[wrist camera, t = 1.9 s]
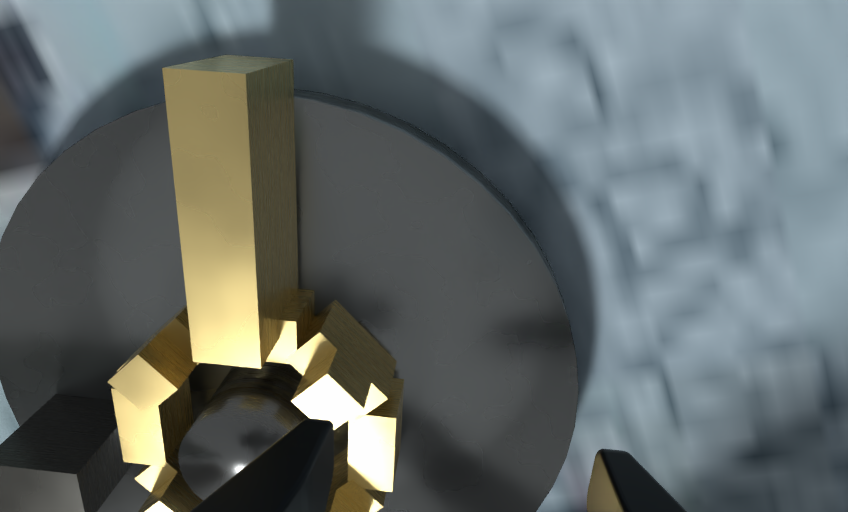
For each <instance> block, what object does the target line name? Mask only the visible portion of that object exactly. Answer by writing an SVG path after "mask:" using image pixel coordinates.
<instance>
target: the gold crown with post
mask: <svg viewBox="0 0 848 512" xmlns="http://www.w3.org/2000/svg"><path fill="white" fill-rule="evenodd" d="M162 71H163V80H164V90H165V99H166V109H167V119H168V128H169V138H170V147H171V157H172V166H173V176H174V185H175V195H176V205H177V214H178V224H179V233H180V243H181V252H182V262H183V272H184V281H185V291H186V300H187V304H186V305H185V306H184V307H183V308H182V309H181V310H179V311H178V312H177V313H176V314H175V315H174V316H173V317H172V318H171V319H169V320H168V321H167V322H166V323H165V324H164V325H163V326H162V327H161V328H159V329H158V330H157V331H156V332H155V333H154V334H153V335H152V336H151V337H150V338H149V339H148V340H147V341H146V342H145V343H144V344H143V345H142V346H141V347H140V348H139V349H138V350H137V351H136V352H135V353H134V354H133V355H132V356H131V357H130V358H129V359H128V360H127V361H126V362H125V363H124V364H123V365H122V366H121V367H120V368H119V369H118V370H117V373H116V374H115V375H114V376H113V377H112V378H111V379H110V380H109V381H108V383H109V384H110V385H111V386H113V387H112V388H111V391H112V397H113V402H114V408H115V414H116V420H117V426H118V432H119V438H120V444H121V449H122V455H123V461H124V462H129V463H138V464H145V465H144V466H143V468H142V469H141V470H140V472H139V473H138V474H137V476H136V477H135V480H136V481H138V482H139V483H140V484H141V485H143V486H144V487H145V488H146V489H148V490H149V491H150V492H151V493H150V495H149V496H148V498H147V499H146V501H145V502H144V504H143V505H142V507H141V508H140V510H139V511H138V512H190V511H191V510H192V509H193V508H195V507H196V506H197V505H198V504H200V503H201V502H202V501H203V500H202V499H201V498H199V497H198V496H197V495H196V494H195V493H194V492H193V491H192V490H191V488H190V487H189V486H188V484H187V483H186V482H185V480H184V478H183V476H182V473H181V471H180V467H179V462H178V453H179V448H180V445H181V442H182V440H183V438H184V437H185V435H186V434H187V432H188V431H189V430H190V428H191V427H192V425H193V424H194V421H193V412H192V403H191V393H190V384H189V374H190V373H191V372H192V371H193V369H194V368H195V367H196V366H197V364H199V363H210V364H220V365H230V366H240V367H250V368H259V369H261V368H262V366H263V365H264V363H265V362H274V363H284V364H291V365H292V366H293V367H294V368H295V369H296V370H297V371H298V372H300V373H301V374H302V375H303V377H302V379H301V381H300V383H299V385H298V387H297V390H296V392H295V394H294V396H293V398H292V400H291V402H292V403H293V404H295V405H296V406H297V407H298V408H299V409H300V410H301V411H302V412H303V413H304V414H305V415H306V416H308V417H309V418H313V419H322V420H330V421H331V422H332V423H333V426H334V430H335V429H336V428H338V427H339V426H340V425H342V424H343V423H345V422H346V421H347V420H349V431H348V448H346V449H345V450H344V451H342V452H341V453H339V454H338V455H336V456H335V457H334V470H333V478H332V483H331V487H330V492H329V496H328V500H327V505H326V509H325V512H376V511H378V510H379V509H381V508H383V505H384V500H385V495H386V491H387V492H392V491H393V486H394V480H395V475H396V469H397V464H398V458H399V453H400V444H401V427H402V409H403V392H404V379H398V378H393V376H394V371H395V367H396V363H397V361H396V360H395V359H394V358H393V357H392V356H391V355H390V354H389V353H388V352H387V351H386V350H385V349H384V348H383V347H382V346H381V345H380V344H379V343H378V342H377V341H376V340H375V339H374V338H373V337H372V336H371V335H370V334H369V333H368V332H367V331H366V330H365V329H364V328H363V327H362V326H361V325H360V324H359V323H358V322H357V321H356V320H355V319H354V318H353V317H352V316H351V315H350V314H349V313H348V312H347V311H346V310H345V309H344V308H343V307H342V306H341V305H340V304H339V303H338V302H337V301H336V300H335V301H333V302H332V303H331V304H330V305H328V306H327V307H326V308H325V309H323V310H322V311H321V312H320V313H318V314H317V315H316V316H315V290H310V289H299V288H298V246H297V203H296V159H295V116H294V72H293V59H279V58H265V57H251V56H237V55H222V56H218V57H213V58H208V59H203V60H198V61H193V62H188V63H183V64H178V65H173V66H169V67H164V68H162Z"/></svg>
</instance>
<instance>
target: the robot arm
mask: <svg viewBox="0 0 848 512" xmlns="http://www.w3.org/2000/svg"><path fill="white" fill-rule="evenodd" d="M333 470H334V426H333V423H332V422H331V421H330V420H322V419H313V418H307V419H304V420H303V421H301V422H300V423H299V424H298V425H296V426H295V427H294V428H293V429H291V430H290V431H289V432H288V433H286V434H285V435H284V436H283V437H281V438H280V439H279V440H278V441H277V442H275V443H274V444H273V445H272V446H270V447H269V448H268V449H267V450H265V451H264V452H263V453H262V454H260V455H259V456H258V457H257V458H255V459H254V460H253V461H252V462H250V463H249V464H248V465H247V466H245V467H244V468H243V469H242V470H241V471H239V472H238V473H237V474H236V475H234V476H233V477H232V478H231V479H229V480H228V481H227V482H226V483H224V484H223V485H222V486H221V487H219V488H218V489H217V490H216V491H214V492H213V493H212V494H211V495H210V496H208V497H207V498H206V499H205V500H203V501H202V502H201V503H200V504H198V505H197V506H196V507H195V508H193V509H192V510H191V511H190V512H325V509H326V505H327V500H328V496H329V492H330V487H331V483H332V478H333ZM587 512H687V511H686V510H685V509H684V508H683V507H682V506H681V505H680V504H679V503H678V502H677V501H676V500H675V499H674V498H673V497H672V496H671V495H670V494H669V493H668V492H667V491H666V490H665V489H664V488H663V487H662V486H661V485H660V484H659V483H658V482H657V481H656V480H655V479H654V478H653V477H652V476H651V475H650V474H649V473H648V472H647V471H646V470H645V469H644V468H643V467H642V466H641V465H640V464H639V463H638V462H637V461H636V460H635V459H634V458H633V457H632V455H630V454H629V453H628V452H625V451H619V450H610V449H601V450H599V451H598V452H597V454H596V456H595V461H594V465H593V470H592V475H591V479H590V484H589V488H588V494H587Z"/></svg>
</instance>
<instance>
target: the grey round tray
mask: <svg viewBox="0 0 848 512" xmlns="http://www.w3.org/2000/svg"><path fill="white" fill-rule="evenodd" d="M294 116H295V159H296V203H297V246H298V288H299V289H310V290H315V316H316V315H317V314H318V313H320V312H321V311H322V310H323V309H325V308H326V307H327V306H328V305H330V304H331V303H332V302H333V301H335V300H336V301H337V302H338V303H339V304H340V305H341V306H342V307H343V308H344V309H345V310H346V311H347V312H348V313H349V314H350V315H351V316H352V317H353V318H354V319H355V320H356V321H357V322H358V323H359V324H360V325H361V326H362V327H363V328H364V329H365V330H366V331H367V332H368V333H369V334H370V335H371V336H372V337H373V338H374V339H375V340H376V341H377V342H378V343H379V344H380V345H381V346H382V347H383V348H384V349H385V350H386V351H387V352H388V353H389V354H390V355H391V356H392V357H393V358H394V359H395V360H396V361H397V363H396V367H395V371H394V376H393V378H398V379H404V392H403V409H402V427H401V444H400V453H399V458H398V464H397V469H396V475H395V480H394V486H393V491H392V492H387V491H386V495H385V500H384V505H383V508H381V509H379V510H378V511H376V512H536V511H537V509H538V508H539V506H540V505H541V503H542V502H543V500H544V499H545V497H546V496H547V494H548V493H549V491H550V490H551V488H552V487H553V485H554V483H555V481H556V479H557V476H558V474H559V472H560V470H561V468H562V465H563V463H564V461H565V459H566V456H567V453H568V449H569V445H570V442H571V438H572V435H573V431H574V428H575V420H576V411H577V402H578V374H577V358H576V353H575V348H574V343H573V338H572V334H571V329H570V324H569V320H568V316H567V313H566V309H565V306H564V302H563V299H562V296H561V294H560V291H559V288H558V286H557V283H556V280H555V277H554V275H553V272H552V269H551V267H550V265H549V263H548V261H547V259H546V258H545V256H544V254H543V252H542V250H541V248H540V247H539V245H538V243H537V241H536V239H535V237H534V236H533V234H532V232H531V231H530V230H529V228H528V227H527V226H526V224H525V223H524V221H523V220H522V219H521V217H520V216H519V215H518V213H517V212H516V211H515V209H514V208H513V207H512V205H511V204H510V203H509V201H508V200H507V199H506V198H505V197H504V196H503V195H502V194H501V193H500V192H499V191H498V190H497V189H496V188H495V187H494V186H493V185H492V184H491V183H490V182H489V181H488V180H487V179H486V178H485V177H484V176H483V175H482V174H481V173H480V172H479V171H478V170H477V169H475V168H474V167H473V166H472V165H470V164H469V163H468V162H467V161H465V160H464V159H463V158H461V157H460V156H459V155H458V154H456V153H455V152H454V151H452V150H451V149H450V148H449V147H447V146H446V145H444V144H443V143H441V142H439V141H438V140H436V139H434V138H433V137H431V136H429V135H428V134H426V133H424V132H422V131H421V130H419V129H417V128H416V127H414V126H412V125H411V124H409V123H407V122H405V121H402V120H400V119H398V118H395V117H393V116H391V115H388V114H386V113H384V112H381V111H379V110H377V109H374V108H372V107H370V106H367V105H364V104H360V103H357V102H353V101H350V100H346V99H342V98H339V97H335V96H332V95H328V94H325V93H318V92H311V91H304V90H297V89H294ZM186 304H187V300H186V291H185V281H184V272H183V262H182V252H181V243H180V233H179V224H178V214H177V205H176V195H175V185H174V176H173V166H172V157H171V147H170V138H169V128H168V119H167V109H166V102H164V103H160V104H157V105H154V106H151V107H147V108H144V109H141V110H138V111H135V112H132V113H130V114H128V115H126V116H124V117H121V118H119V119H117V120H115V121H113V122H111V123H109V124H107V125H104V126H102V127H100V128H98V129H96V130H95V131H93V132H92V133H90V134H89V135H87V136H86V137H84V138H83V139H82V140H80V141H79V142H77V143H76V144H74V145H73V146H71V147H70V148H68V149H67V150H65V151H64V152H63V153H62V154H61V155H60V156H59V157H58V158H57V159H56V160H55V161H54V162H53V163H52V164H51V165H50V166H49V167H48V168H47V169H46V170H45V171H44V172H43V173H42V174H40V175H39V176H38V178H37V179H36V180H35V182H34V183H33V185H32V186H31V187H30V189H29V190H28V191H27V193H26V194H25V196H24V197H23V198H22V200H21V201H20V202H19V204H18V205H17V207H16V209H15V211H14V213H13V215H12V217H11V219H10V222H9V224H8V226H7V228H6V230H5V232H4V234H3V236H2V239H1V242H0V380H1V383H2V387H3V390H4V393H5V396H6V398H7V401H8V403H9V405H10V407H11V409H12V411H13V413H14V415H15V418H16V420H17V422H18V424H19V426H20V427H19V428H18V429H17V430H16V431H15V432H14V433H13V434H12V435H10V436H9V437H8V438H7V439H6V440H5V441H4V442H3V443H2V444H1V445H0V512H138V511H139V510H140V508H141V507H142V505H143V504H144V502H145V501H146V499H147V498H148V496H149V495H150V493H151V492H150V491H149V490H148V489H146V488H145V487H144V486H143V485H141V484H140V483H139V482H138V481H136V480H135V477H136V476H137V474H138V473H139V472H140V470H141V469H142V468H143V466H144V465H145V464H138V463H129V462H124V461H123V455H122V449H121V444H120V438H119V432H118V426H117V420H116V414H115V408H114V402H113V397H112V391H111V388H112V387H113V386H111V385H110V384H109V383H108V381H109V380H110V379H111V378H112V377H113V376H114V375H115V374H116V373H117V370H118V369H119V368H120V367H121V366H122V365H123V364H124V363H125V362H126V361H127V360H128V359H129V358H130V357H131V356H132V355H133V354H134V353H135V352H136V351H137V350H138V349H139V348H140V347H141V346H142V345H143V344H144V343H145V342H146V341H147V340H148V339H149V338H150V337H151V336H152V335H153V334H154V333H155V332H156V331H157V330H158V329H159V328H161V327H162V326H163V325H164V324H165V323H166V322H167V321H168V320H169V319H171V318H172V317H173V316H174V315H175V314H176V313H177V312H178V311H179V310H181V309H182V308H183V307H184V306H185V305H186ZM302 377H303V375H302V374H301V373H300V372H298V371H297V370H296V369H295V368H294V367H293V366H292V365H291V364H284V363H274V362H265V363H264V365H263V366H262V368H261V369H259V368H250V367H240V366H230V365H220V364H210V363H199V364H197V366H196V367H195V368H194V369H193V371H192V372H191V373H190V374H189V384H190V393H191V403H192V412H193V421H194V424H193V425H192V427H191V428H190V430H189V431H188V432H187V434H186V435H185V437H184V438H183V440H182V442H181V445H180V448H179V453H178V462H179V467H180V471H181V473H182V476H183V478H184V480H185V482H186V483H187V484H188V486H189V487H190V488H191V490H192V491H193V492H194V493H195V494H196V495H197V496H198V497H199V498H201V499H202V500H205V499H206V498H207V497H208V496H210V495H211V494H212V493H213V492H214V491H216V490H217V489H218V488H219V487H221V486H222V485H223V484H224V483H226V482H227V481H228V480H229V479H231V478H232V477H233V476H234V475H236V474H237V473H238V472H239V471H241V470H242V469H243V468H244V467H245V466H247V465H248V464H249V463H250V462H252V461H253V460H254V459H255V458H257V457H258V456H259V455H260V454H262V453H263V452H264V451H265V450H267V449H268V448H269V447H270V446H272V445H273V444H274V443H275V442H277V441H278V440H279V439H280V438H281V437H283V436H284V435H285V434H286V433H288V432H289V431H290V430H291V429H293V428H294V427H295V426H296V425H298V424H299V423H300V422H301V421H303V420H304V419H307V418H309V417H308V416H306V415H305V414H304V413H303V412H302V411H301V410H300V409H299V408H298V407H297V406H296V405H295V404H293V403H292V402H291V400H292V398H293V396H294V394H295V392H296V390H297V387H298V385H299V383H300V381H301V379H302ZM348 431H349V420H347V421H346V422H345V423H343V424H342V425H340V426H339V427H338V428H336V429H335V430H334V457H335V456H336V455H338V454H339V453H341V452H342V451H344V450H345V449H346V448H348Z"/></svg>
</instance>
